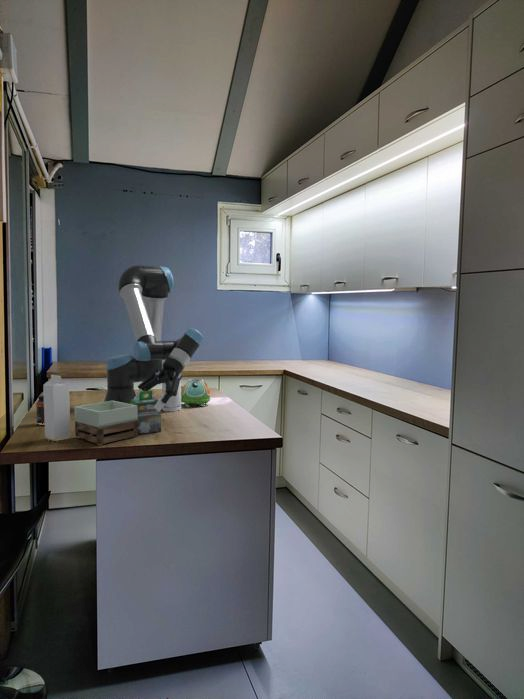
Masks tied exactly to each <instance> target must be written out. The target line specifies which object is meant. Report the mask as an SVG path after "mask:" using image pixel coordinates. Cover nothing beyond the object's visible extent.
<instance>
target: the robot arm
mask: <svg viewBox="0 0 524 699" xmlns="http://www.w3.org/2000/svg"><path fill="white" fill-rule="evenodd" d="M174 281H175V280H174V276H173V274H172V271H171V269H170V268H169V267H166V266H160V265H138V264H135V265H131V266H129V267H127V268H126V269H125V270H124V271H123V272H122V273H121V275H120V277H119V278H118V286H117V288H118V293H119V295H120V297H121V298H122V299H123V301H124V303H125V307H126V310H127V314H128V317H129V321H130V324H131V327H132V330H133V334H134V337H135V342H134V343H133V348H132V351H133V352H132V353H133V354H130V353H129V354H120V355H115V356H114V355H113V356H111V357H109V358H107V361H106V382H107V384H106V386H107V389H106V390H107V391H106V394H105V397H104V400H103V402H107V401H117V402H122V403H127V404H131V399H137V398H139V395H140V392H141V391H151V389H153V388H154V387H156V386H157V385H161V384H162V383H165V384H166V393H163V394H162V395H161V396H160V398H159V399H158V402H157V403H156V405H155V406H154V408H155V409H156V410H157V411H158V412H160V410H161V411H162V410H163V406H164V405H165V404H166V403H167V401H168V400H169V398H170V397H172V396H176V395H177V391H178V387H179V383H180V380H181V381H182V378H183V375H182V372H183V371H184V369H185V367H186V366H187V365H188V363H189V362H190V360H191V359H192V358H193V356H194V354H195V353H196V352H197V350H199V348H200V346H201V345H202V343H203V341H204V336H203V334H202V333H201V332H200V331H199V330H198V329H196V328H188V329H187V330H186V331H185V332H184V334H183V335H182V337H180V338H178V339H177V340H162V329H163V318H164V307H165V305H164V304H165V300H167V299H168V298H169V294H170V293H173V291H174V287H175V286H174V285H175V284H174V283H175V282H174ZM162 360H165V362H164V363H163V369H162ZM135 383H140V384H138V385H137V388H138V389H139V390H138V392H137V393H136V391H135V389H134V388H135V387H134V386H135ZM146 395H147V394H144V395H143V397H145V396H146Z"/></svg>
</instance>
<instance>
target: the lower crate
mask: <svg viewBox="0 0 524 699" xmlns="http://www.w3.org/2000/svg"><path fill="white" fill-rule="evenodd" d="M74 429H75V430H74V432H75V433H74V434H75V435H74V436H77V437H79V438H82V439H81V440H83V439H85V440H84V441H87V442H90V443H93V444H96V445H97V444H99V445H100V446H102V445H101V444H104V445H105V444H107V443H112V442H117V441H121V440H125V439H129V438H134V439H135V438H139V434H138V420H134V421H129V422H124V423H119V424H114V425H109V426H104V427H95V426H92V425H88V424H84V423H81V422H77V421H75V420H74ZM117 432H119V433H117ZM112 433H114V434H112ZM90 434H91V435H90ZM108 434H111V435H108ZM105 435H106V436H105ZM99 445H98V446H99Z"/></svg>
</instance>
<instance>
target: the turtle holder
mask: <svg viewBox="0 0 524 699" xmlns="http://www.w3.org/2000/svg"><path fill="white" fill-rule="evenodd" d="M210 400H211V392H210V387H209V385H208V384H207V383H206V382H205V381H204V379H203V378H201V379H200V378H190V379H188V380H187V381H186V383H185V384H183V386H182V387H181V403H184V406H185V408H191V406H190V405H189V403H191V404H198V406H199V407H200V406H202V407H201V408H203V406H205V407H206V404H203V403H208V404H209V402H210Z"/></svg>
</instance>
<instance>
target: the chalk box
mask: <svg viewBox="0 0 524 699" xmlns="http://www.w3.org/2000/svg"><path fill="white" fill-rule="evenodd" d="M144 394H146V395H148V396H147V397H145V396H144V397H143V395H144ZM158 400H159V399H158V398H157V397H155V396H153V390H148V391H141V392H140V395H139V398H137V399H131V404H132V405H137V409H138V435H141V434H152V433H160V432H162V412H161V411H162V409H161V410H160V412H158V411H157V410H156V409H155V408H154V406H155V405H156V403H157V402H158Z"/></svg>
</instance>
